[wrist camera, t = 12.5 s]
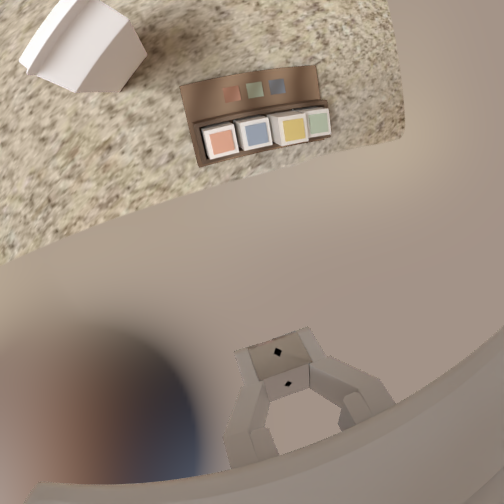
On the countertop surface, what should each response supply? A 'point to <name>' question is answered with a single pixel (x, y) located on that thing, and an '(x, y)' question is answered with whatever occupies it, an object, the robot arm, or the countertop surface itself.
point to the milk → (84, 47)
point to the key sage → (316, 120)
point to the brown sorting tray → (248, 102)
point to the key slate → (252, 132)
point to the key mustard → (288, 127)
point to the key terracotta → (219, 139)
